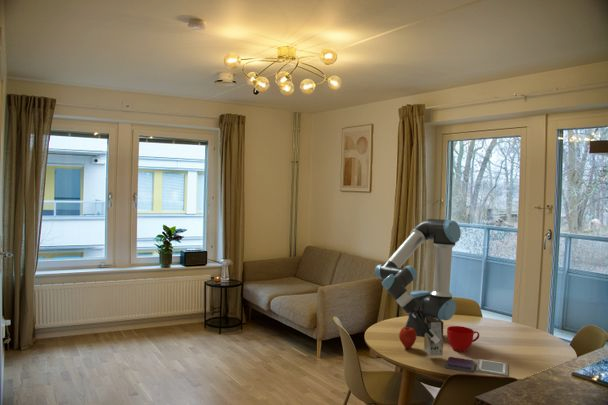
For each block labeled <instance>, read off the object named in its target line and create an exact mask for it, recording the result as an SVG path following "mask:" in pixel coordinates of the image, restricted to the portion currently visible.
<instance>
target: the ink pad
mask: <svg viewBox="0 0 608 405" xmlns="http://www.w3.org/2000/svg"><path fill="white" fill-rule="evenodd" d="M475 365H476V361H475V360H473V359H467V358H459V357H454V356H448V358H447V361H446V362H445V369H450V370H455V371H462V372H466V373H474V370H475Z"/></svg>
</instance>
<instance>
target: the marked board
mask: <svg viewBox="0 0 608 405" xmlns="http://www.w3.org/2000/svg"><path fill="white" fill-rule="evenodd" d="M508 366H509V363H506V362H499V361H493V360H489V359H488V360H487V359H482V358H481V359H480V358H477V364H476V369H475V372H479V373H484V374H490V375H497V376H503V377H508V370H509V367H508Z"/></svg>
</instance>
